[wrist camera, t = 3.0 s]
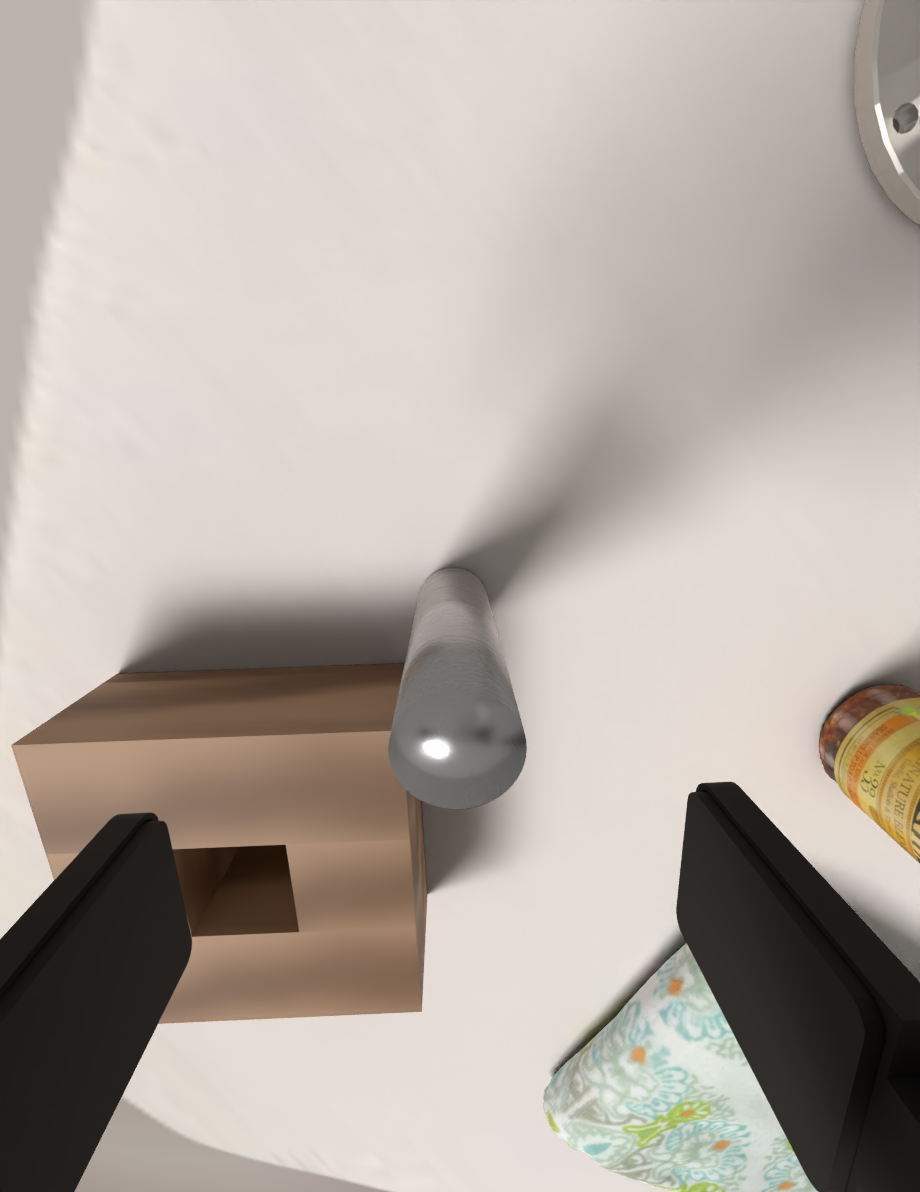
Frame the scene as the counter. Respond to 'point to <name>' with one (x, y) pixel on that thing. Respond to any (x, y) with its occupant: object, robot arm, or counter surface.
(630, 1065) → the towel
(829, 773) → the sauce bottle
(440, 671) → the pin
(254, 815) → the socket block
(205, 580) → the counter surface
